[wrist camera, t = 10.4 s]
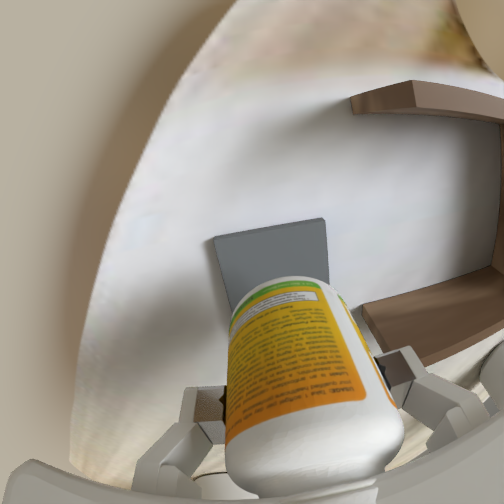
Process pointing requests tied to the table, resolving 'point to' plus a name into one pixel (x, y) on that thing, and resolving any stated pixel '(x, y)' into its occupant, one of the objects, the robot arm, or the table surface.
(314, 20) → the table surface
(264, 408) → the supplement bottle
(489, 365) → the can
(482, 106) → the walnut u-shaped frame
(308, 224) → the felt pad
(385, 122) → the table surface
